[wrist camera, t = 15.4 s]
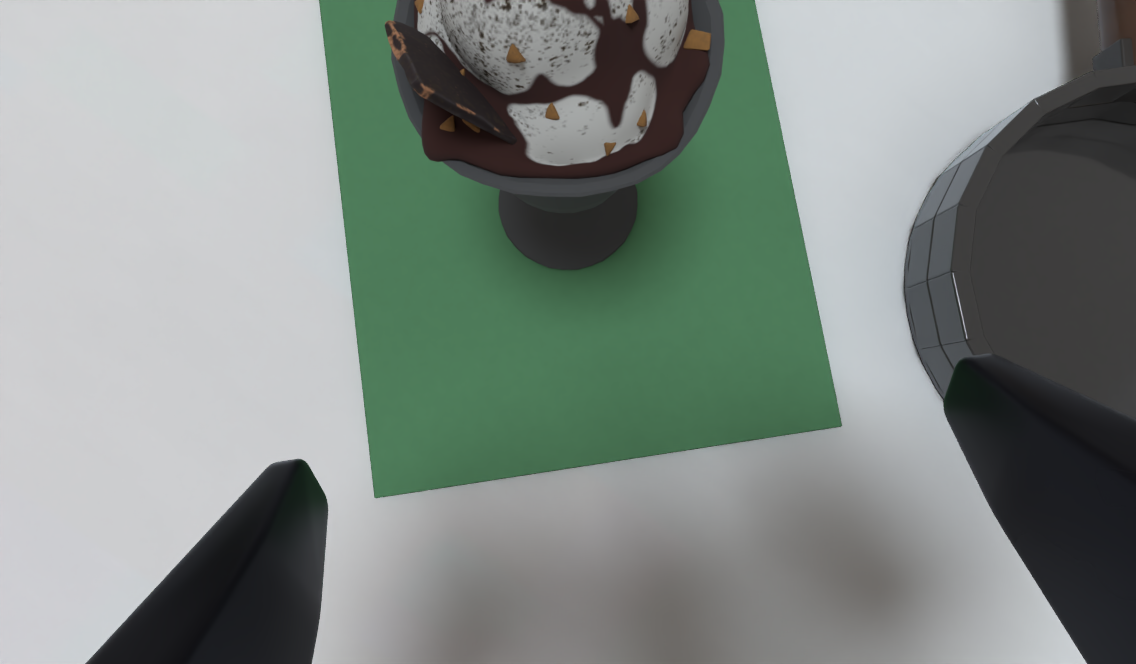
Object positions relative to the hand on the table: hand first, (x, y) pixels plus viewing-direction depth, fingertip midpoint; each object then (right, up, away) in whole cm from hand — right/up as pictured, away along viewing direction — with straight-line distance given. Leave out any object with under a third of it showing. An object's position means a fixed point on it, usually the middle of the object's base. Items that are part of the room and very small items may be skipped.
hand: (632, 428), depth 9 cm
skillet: (+18, +3, +13) cm, 22 cm away
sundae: (-1, +6, +14) cm, 15 cm away
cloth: (-1, +6, +14) cm, 16 cm away
